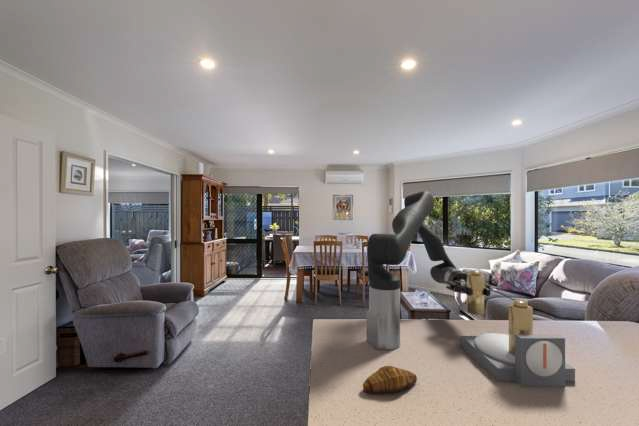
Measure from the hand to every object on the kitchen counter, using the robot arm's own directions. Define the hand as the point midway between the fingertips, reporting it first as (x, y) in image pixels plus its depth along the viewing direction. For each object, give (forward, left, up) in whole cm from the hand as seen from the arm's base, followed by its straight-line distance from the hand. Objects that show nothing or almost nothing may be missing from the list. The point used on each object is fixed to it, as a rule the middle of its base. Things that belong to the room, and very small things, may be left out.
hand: (479, 292), depth 90 cm
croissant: (-41, -8, -15) cm, 45 cm away
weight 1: (+1, +2, -7) cm, 7 cm away
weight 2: (-6, -16, -11) cm, 20 cm away
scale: (-5, -14, -15) cm, 21 cm away
